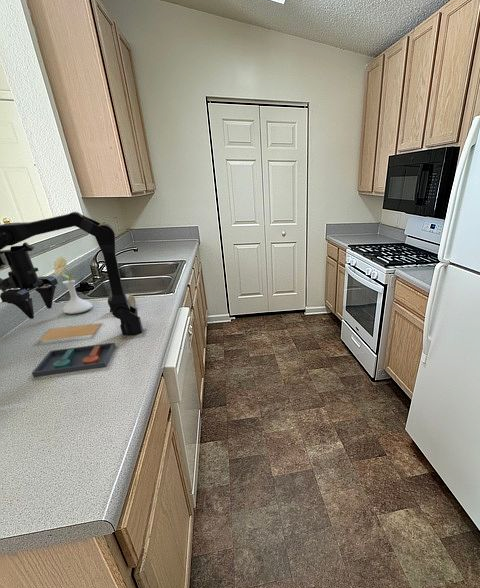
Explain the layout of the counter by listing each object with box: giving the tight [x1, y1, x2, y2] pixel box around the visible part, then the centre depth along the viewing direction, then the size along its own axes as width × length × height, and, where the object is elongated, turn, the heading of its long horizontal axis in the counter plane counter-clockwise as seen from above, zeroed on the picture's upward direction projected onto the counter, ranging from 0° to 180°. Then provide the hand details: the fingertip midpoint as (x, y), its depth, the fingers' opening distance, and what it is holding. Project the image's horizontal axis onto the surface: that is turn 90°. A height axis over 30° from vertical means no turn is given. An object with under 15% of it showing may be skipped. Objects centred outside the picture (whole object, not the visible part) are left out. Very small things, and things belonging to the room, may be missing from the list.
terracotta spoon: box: [82, 346, 102, 364], centre depth 107 cm, size 4×11×2 cm, turn 16°
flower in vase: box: [52, 255, 93, 315], centre depth 143 cm, size 13×11×25 cm
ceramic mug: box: [125, 294, 137, 308], centre depth 148 cm, size 11×8×8 cm
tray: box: [31, 342, 117, 378], centre depth 107 cm, size 20×15×2 cm
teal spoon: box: [53, 349, 75, 368], centre depth 105 cm, size 4×11×2 cm, turn 15°
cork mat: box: [39, 323, 102, 342], centre depth 127 cm, size 18×14×1 cm
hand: (41, 313), depth 110 cm, fingers open, 9 cm apart
